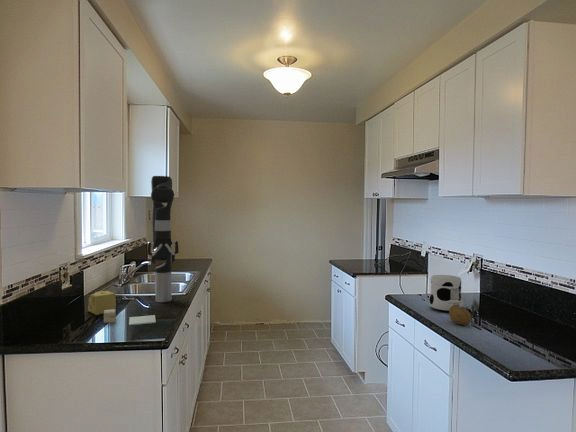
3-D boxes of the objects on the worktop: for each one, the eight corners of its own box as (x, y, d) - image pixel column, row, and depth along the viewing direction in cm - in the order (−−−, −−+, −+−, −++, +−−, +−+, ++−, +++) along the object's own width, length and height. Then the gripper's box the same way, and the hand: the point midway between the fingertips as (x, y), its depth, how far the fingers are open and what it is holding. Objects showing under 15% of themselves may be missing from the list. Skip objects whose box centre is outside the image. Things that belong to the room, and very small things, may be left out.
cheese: (87, 311, 209) (87, 293, 209) (108, 307, 217) (108, 289, 217) (95, 315, 202) (95, 296, 202) (116, 311, 210) (116, 292, 210)
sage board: (129, 318, 197) (129, 317, 197) (154, 316, 201) (154, 315, 201) (129, 325, 186) (129, 324, 186) (155, 322, 190) (155, 321, 190)
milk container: (433, 304, 228) (434, 273, 228) (465, 309, 218) (466, 276, 218) (424, 310, 214) (425, 277, 214) (458, 316, 204) (459, 281, 204)
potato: (456, 328, 183) (457, 311, 183) (444, 319, 197) (444, 304, 197) (477, 328, 183) (477, 311, 183) (463, 319, 198) (463, 304, 197)
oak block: (104, 320, 194) (104, 310, 194) (115, 319, 196) (115, 309, 196) (103, 323, 190) (103, 312, 190) (115, 322, 192) (115, 311, 191)
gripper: (176, 228, 196) (176, 261, 196) (146, 229, 190) (146, 263, 190) (179, 229, 189) (179, 263, 190) (148, 230, 183) (148, 265, 183)
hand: (163, 263), depth 190 cm, fingers open, 8 cm apart
